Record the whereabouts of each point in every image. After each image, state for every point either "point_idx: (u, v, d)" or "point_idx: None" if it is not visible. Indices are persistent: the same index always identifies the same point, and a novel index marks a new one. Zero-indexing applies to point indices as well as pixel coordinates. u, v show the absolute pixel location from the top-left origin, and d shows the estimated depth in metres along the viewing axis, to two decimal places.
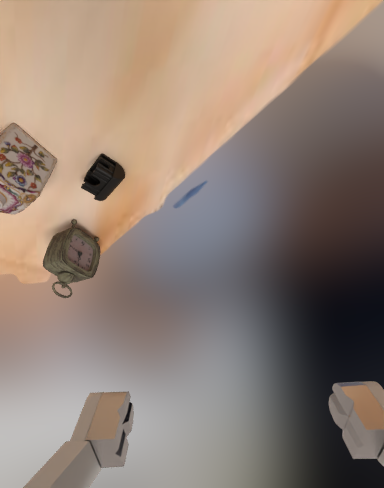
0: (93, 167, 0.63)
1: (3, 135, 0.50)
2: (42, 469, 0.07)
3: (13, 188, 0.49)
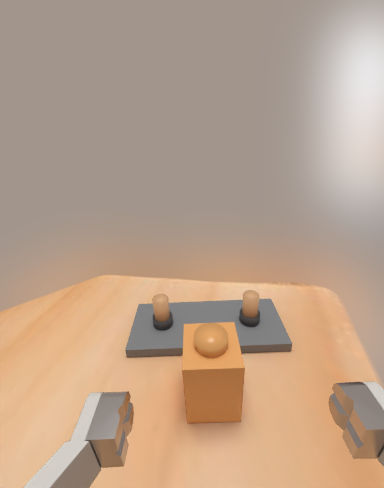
0: None
1: None
2: (42, 469, 0.07)
3: None
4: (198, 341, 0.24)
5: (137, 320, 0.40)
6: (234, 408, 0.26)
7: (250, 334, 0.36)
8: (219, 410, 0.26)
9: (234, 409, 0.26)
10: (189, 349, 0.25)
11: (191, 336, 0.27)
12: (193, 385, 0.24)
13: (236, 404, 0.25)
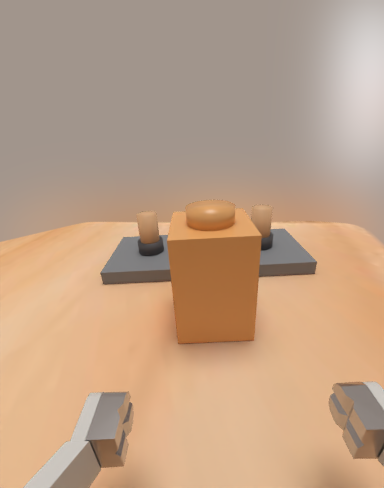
0: None
1: None
2: (42, 469, 0.07)
3: None
4: (192, 210, 0.17)
5: (119, 249, 0.32)
6: (245, 316, 0.18)
7: (261, 256, 0.28)
8: (223, 320, 0.18)
9: (245, 318, 0.18)
10: (179, 226, 0.17)
11: (182, 218, 0.19)
12: (184, 271, 0.16)
13: (247, 310, 0.18)
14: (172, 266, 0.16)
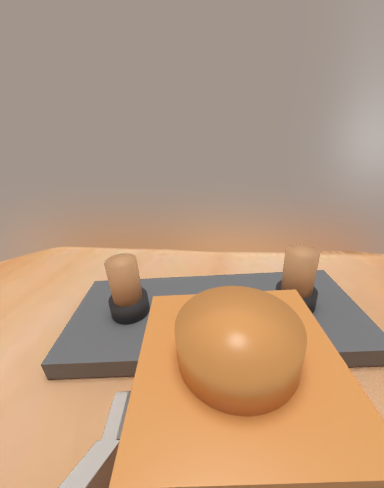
0: None
1: None
2: (76, 468, 0.07)
3: None
4: (191, 345, 0.06)
5: (84, 306, 0.21)
6: None
7: None
8: None
9: None
10: (158, 375, 0.07)
11: (169, 328, 0.08)
12: None
13: None
14: None
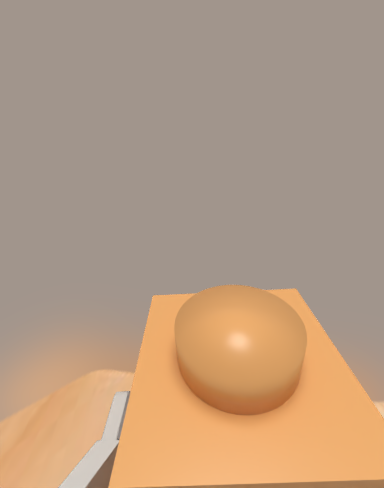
0: None
1: None
2: (76, 468, 0.07)
3: None
4: (191, 344, 0.06)
5: None
6: None
7: None
8: None
9: None
10: (158, 374, 0.07)
11: (169, 328, 0.08)
12: None
13: None
14: None
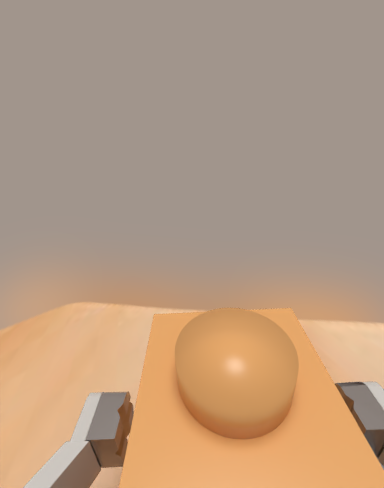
0: None
1: None
2: (42, 469, 0.07)
3: None
4: (190, 371, 0.07)
5: None
6: None
7: None
8: None
9: None
10: (159, 397, 0.07)
11: (169, 349, 0.09)
12: None
13: None
14: None
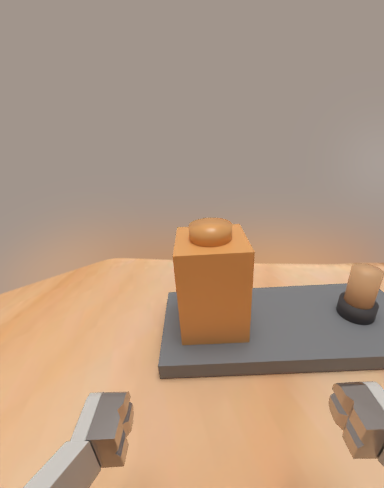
0: None
1: None
2: (42, 469, 0.07)
3: None
4: (194, 228, 0.19)
5: (170, 316, 0.25)
6: (241, 321, 0.20)
7: (370, 337, 0.21)
8: (222, 324, 0.20)
9: (241, 322, 0.20)
10: (183, 242, 0.20)
11: (185, 234, 0.21)
12: (188, 282, 0.18)
13: (243, 315, 0.20)
14: (177, 278, 0.18)
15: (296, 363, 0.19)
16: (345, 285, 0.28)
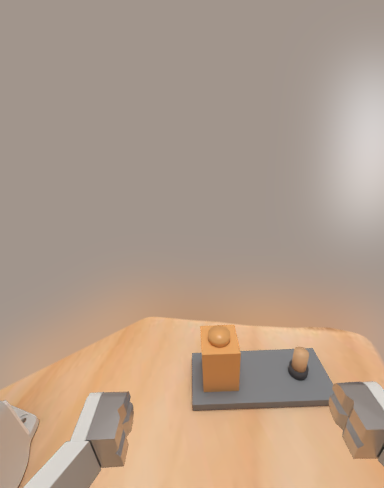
0: None
1: None
2: (42, 469, 0.07)
3: None
4: (211, 337, 0.38)
5: (195, 371, 0.44)
6: (234, 381, 0.39)
7: (301, 388, 0.40)
8: (224, 382, 0.39)
9: (234, 382, 0.39)
10: (205, 342, 0.39)
11: (205, 334, 0.40)
12: (208, 365, 0.38)
13: (235, 378, 0.39)
14: (203, 363, 0.37)
15: (262, 403, 0.39)
16: None
